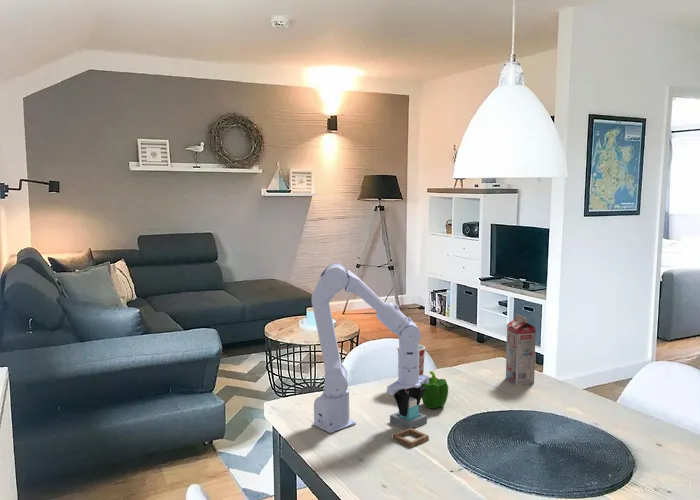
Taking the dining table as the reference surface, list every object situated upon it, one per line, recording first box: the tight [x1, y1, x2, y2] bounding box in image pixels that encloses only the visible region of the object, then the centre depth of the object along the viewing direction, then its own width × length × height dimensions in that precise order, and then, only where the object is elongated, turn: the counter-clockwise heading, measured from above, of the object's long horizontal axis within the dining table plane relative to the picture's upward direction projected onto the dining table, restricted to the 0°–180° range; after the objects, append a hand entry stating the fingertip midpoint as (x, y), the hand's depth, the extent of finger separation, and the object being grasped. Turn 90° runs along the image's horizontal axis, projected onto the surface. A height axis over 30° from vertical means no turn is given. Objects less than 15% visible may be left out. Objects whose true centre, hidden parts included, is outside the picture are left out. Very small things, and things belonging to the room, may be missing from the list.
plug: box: [400, 397, 420, 421], centre depth 163 cm, size 4×4×6 cm
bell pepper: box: [421, 370, 449, 409], centre depth 175 cm, size 8×8×10 cm
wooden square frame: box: [391, 428, 430, 448], centre depth 152 cm, size 7×7×1 cm
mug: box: [396, 344, 426, 392], centre depth 188 cm, size 13×9×14 cm
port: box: [389, 411, 428, 430], centre depth 163 cm, size 7×7×2 cm
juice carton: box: [505, 313, 536, 386], centre depth 195 cm, size 7×7×22 cm
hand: (408, 413), depth 163 cm, fingers closed on plug, 4 cm apart
